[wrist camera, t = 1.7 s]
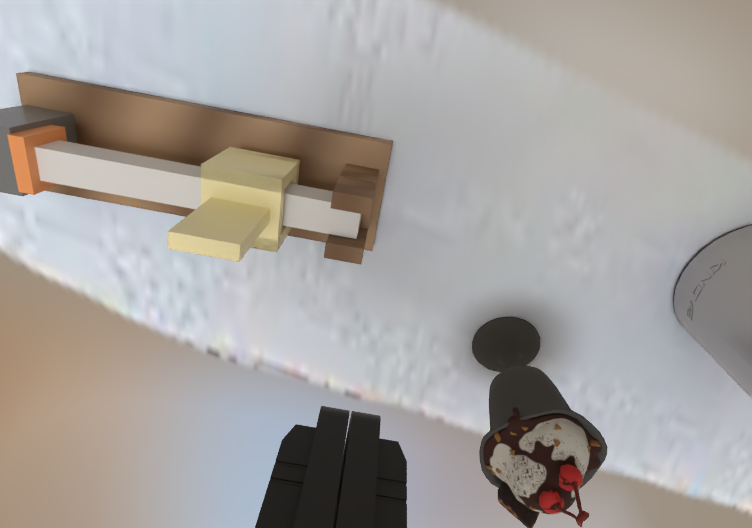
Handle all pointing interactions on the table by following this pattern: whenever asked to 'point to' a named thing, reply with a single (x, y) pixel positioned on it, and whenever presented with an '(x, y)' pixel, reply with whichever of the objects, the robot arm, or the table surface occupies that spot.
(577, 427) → the sundae
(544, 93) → the table surface
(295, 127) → the wooden bracket
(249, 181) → the marker sleeve
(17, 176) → the sliding door bolt
